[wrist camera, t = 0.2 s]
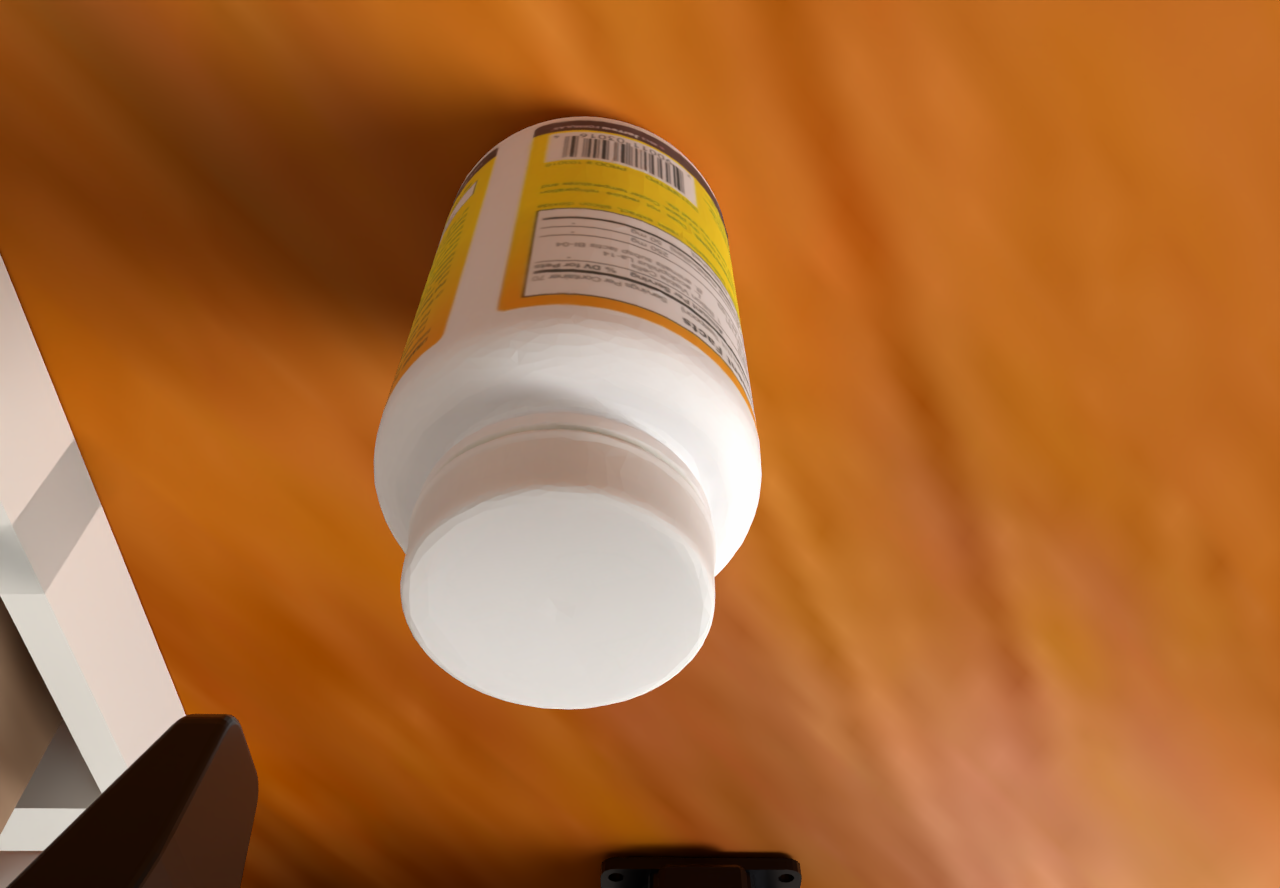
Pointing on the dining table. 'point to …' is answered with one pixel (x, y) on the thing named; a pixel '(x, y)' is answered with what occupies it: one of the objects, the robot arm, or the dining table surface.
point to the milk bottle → (14, 864)
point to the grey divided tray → (68, 600)
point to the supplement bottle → (571, 421)
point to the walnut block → (21, 716)
